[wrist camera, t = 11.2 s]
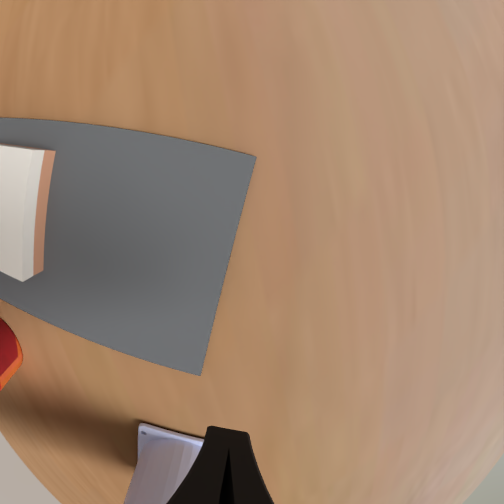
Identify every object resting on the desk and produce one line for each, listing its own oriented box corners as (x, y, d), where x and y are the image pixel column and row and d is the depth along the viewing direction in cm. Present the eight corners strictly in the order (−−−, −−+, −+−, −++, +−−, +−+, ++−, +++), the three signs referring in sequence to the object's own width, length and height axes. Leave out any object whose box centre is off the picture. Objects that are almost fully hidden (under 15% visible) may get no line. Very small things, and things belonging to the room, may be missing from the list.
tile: (22, 281, 14) (-28, 256, 14) (43, 270, 17) (-8, 248, 16) (32, 149, 12) (-22, 143, 12) (55, 150, 15) (1, 143, 14)
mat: (201, 372, 19) (200, 375, 18) (-14, 287, 18) (-17, 289, 17) (256, 157, 15) (256, 156, 15) (-3, 117, 14) (-7, 117, 14)
